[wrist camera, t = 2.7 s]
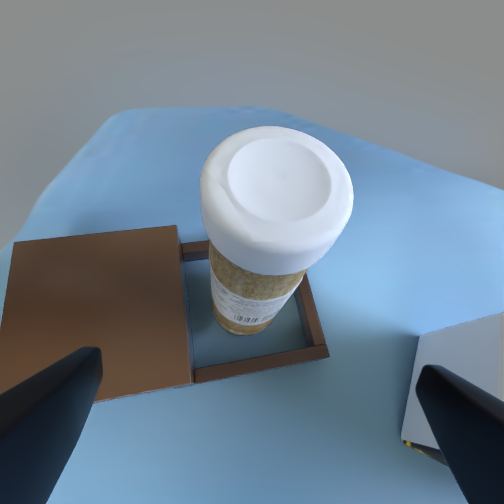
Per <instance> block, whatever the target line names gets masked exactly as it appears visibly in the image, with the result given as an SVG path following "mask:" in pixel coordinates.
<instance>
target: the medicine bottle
mask: <svg viewBox="0 0 504 504" xmlns="http://www.w3.org/2000/svg"><path fill="white" fill-rule="evenodd" d="M426 364H433V365H441V366H443V367H444V368H446V369H448V370H450V371H451V372H453V373H455V374H457V375H458V376H460V377H462V378H464V379H465V380H467V381H469V382H470V383H472V384H474V385H476V386H477V387H479V388H481V389H483V390H484V391H486V392H488V393H490V394H491V395H493V396H495V397H497V398H498V399H500V400H502V401H504V312H501V313H498V314H494V315H490V316H487V317H483V318H479V319H476V320H472V321H468V322H465V323H461V324H457V325H454V326H450V327H446V328H443V329H439V330H435V331H432V332H428V333H424V334H422V335H420V337H419V342H418V347H417V352H416V358H415V363H414V368H413V374H412V379H411V384H410V389H409V395H408V400H407V405H406V411H405V416H404V421H403V427H402V432H401V440H402V442H403V443H404V444H405V445H407V446H409V447H411V448H413V449H415V450H417V451H419V452H421V453H423V454H424V455H426V456H428V457H430V458H432V459H434V460H436V461H438V462H440V463H442V464H444V465H446V466H448V464H447V462H446V460H445V459H444V457H443V455H442V453H441V451H440V448H439V446H438V444H437V442H436V440H435V437H434V435H433V433H432V430H431V428H430V426H429V423H428V421H427V419H426V417H425V414H424V412H423V410H422V407H421V405H420V403H419V400H418V398H417V396H416V392H415V386H416V383H417V381H418V378H419V375H420V372H421V370H422V367H423V366H424V365H426ZM448 467H449V466H448Z"/></svg>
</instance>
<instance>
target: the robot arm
mask: <svg viewBox="0 0 504 504" xmlns="http://www.w3.org/2000/svg"><path fill="white" fill-rule="evenodd" d="M102 378H103V364H102V352H101V349H100V348H99V347H90V346H84V347H81V348H79V349H78V350H76V351H74V352H72V353H71V354H69V355H67V356H66V357H64V358H62V359H60V360H59V361H57V362H55V363H53V364H52V365H50V366H48V367H47V368H45V369H43V370H41V371H40V372H38V373H36V374H34V375H33V376H31V377H29V378H28V379H26V380H24V381H22V382H21V383H19V384H17V385H15V386H14V387H12V388H10V389H9V390H7V391H5V392H3V393H2V394H0V504H46V502H47V501H48V499H49V497H50V495H51V493H52V491H53V489H54V487H55V485H56V483H57V481H58V479H59V477H60V475H61V473H62V471H63V469H64V467H65V465H66V463H67V462H68V460H69V458H70V456H71V454H72V452H73V450H74V448H75V446H76V444H77V441H78V439H79V437H80V434H81V432H82V430H83V427H84V425H85V422H86V419H87V417H88V414H89V412H90V409H91V407H92V404H93V402H94V399H95V397H96V394H97V392H98V389H99V386H100V384H101V381H102ZM415 392H416V396H417V398H418V400H419V403H420V405H421V407H422V410H423V412H424V414H425V417H426V419H427V421H428V423H429V426H430V428H431V430H432V433H433V435H434V437H435V440H436V442H437V444H438V446H439V448H440V451H441V453H442V455H443V457H444V459H445V460H446V462H447V464H448V466H449V468H450V470H451V472H452V474H453V475H454V477H455V479H456V481H457V483H458V485H459V487H460V489H461V490H462V492H463V494H464V496H465V498H466V500H467V502H468V503H469V504H504V401H502V400H500V399H498V398H497V397H495V396H493V395H491V394H490V393H488V392H486V391H484V390H483V389H481V388H479V387H477V386H476V385H474V384H472V383H470V382H469V381H467V380H465V379H464V378H462V377H460V376H458V375H457V374H455V373H453V372H451V371H450V370H448V369H446V368H444V367H443V366H441V365H433V364H426V365H424V366H423V367H422V370H421V372H420V375H419V378H418V381H417V383H416V386H415Z"/></svg>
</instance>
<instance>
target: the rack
mask: <svg viewBox="0 0 504 504" xmlns="http://www.w3.org/2000/svg"><path fill="white" fill-rule="evenodd" d="M209 245H210V244H209V240H208V241H199V242H190V243H182V244H181V242H180V238H179V234H178V230H177V226H176V225H172V226H162V227H153V228H143V229H134V230H124V231H115V232H105V233H96V234H87V235H77V236H68V237H58V238H49V239H39V240H30V241H21V242H14V246H13V252H12V258H11V265H10V271H9V277H8V284H7V290H6V296H5V302H4V309H3V315H2V321H1V328H0V394H2V393H3V392H5V391H7V390H9V389H10V388H12V387H14V386H15V385H17V384H19V383H21V382H22V381H24V380H26V379H28V378H29V377H31V376H33V375H34V374H36V373H38V372H40V371H41V370H43V369H45V368H47V367H48V366H50V365H52V364H53V363H55V362H57V361H59V360H60V359H62V358H64V357H66V356H67V355H69V354H71V353H72V352H74V351H76V350H78V349H79V348H81V347H84V346H90V347H99V348H100V349H101V352H102V364H103V378H102V381H101V384H100V386H99V389H98V392H97V394H96V397H95V399H94V402H93V404H94V403H99V402H104V401H109V400H114V399H119V398H124V397H129V396H134V395H139V394H144V393H149V392H154V391H159V390H164V389H169V388H182V387H187V386H192V385H196V384H202V383H207V382H212V381H217V380H222V379H227V378H232V377H237V376H242V375H247V374H252V373H257V372H262V371H267V370H272V369H277V368H282V367H287V366H292V365H297V364H302V363H307V362H312V361H317V360H322V359H325V358H329V357H330V356H329V352H328V348H327V345H326V342H325V338H324V335H323V331H322V328H321V324H320V320H319V317H318V313H317V310H316V306H315V303H314V299H313V295H312V292H311V288H310V285H309V281H308V278H307V274H306V272H305V274H304V275H303V278H302V281H301V282H300V284H299V285H298V287H297V288H296V289H295V291H294V295H295V299H296V303H297V307H298V311H299V315H300V319H301V323H302V327H303V331H304V335H305V339H306V343H307V348H302V349H297V350H291V351H286V352H281V353H276V354H271V355H265V356H260V357H255V358H250V359H244V360H239V361H234V362H229V363H224V364H218V365H213V366H208V367H203V368H197V369H195V363H194V353H193V344H192V334H191V324H190V314H189V304H188V294H187V284H186V275H185V265H184V261H185V262H186V261H194V260H201V259H209Z"/></svg>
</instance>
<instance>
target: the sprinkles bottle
mask: <svg viewBox="0 0 504 504" xmlns="http://www.w3.org/2000/svg"><path fill="white" fill-rule="evenodd" d="M353 199H354V195H353V186H352V182H351V179H350V176H349V174H348V172H347V169H346V168H345V166H344V164H343V163H342V161H341V160H340V159H339V157H338V156H337V155H336V154H335V153H334V152H333V151H332V150H331V149H330V148H328V147H327V146H326V145H325V144H323V143H322V142H320V141H319V140H317V139H315V138H314V137H312V136H310V135H307V134H305V133H303V132H300V131H297V130H293V129H289V128H284V127H276V126H262V127H254V128H249V129H245V130H242V131H239V132H237V133H235V134H233V135H231V136H229V137H228V138H226V139H225V140H223V141H222V142H221V143H219V144H218V145H217V146H216V147H215V148H214V149H213V150H212V152H211V153H210V154H209V156H208V157H207V159H206V161H205V164H204V166H203V168H202V172H201V178H200V202H201V213H202V221H203V225H204V228H205V230H206V233H207V235H208V237H209V244H210V245H209V264H210V276H211V292H212V311H213V314H214V317H215V319H216V320H217V321H218V323H219V324H220V325H221V326H222V327H223V328H224V329H226V330H227V331H229V332H231V333H233V334H236V335H253V334H256V333H258V332H260V331H262V330H264V329H265V328H266V327H267V326H268V325H269V324H270V323H271V322H272V320H273V318H274V316H275V315H276V314H277V313H278V312H279V310H280V309H281V308H282V307H283V305H284V304H285V303H286V301H287V300H288V299H289V297H290V296H291V295H292V293H293V292H294V291H295V289H296V288H297V287H298V285H299V284H300V282H301V281H302V278H303V275H304V274H305V272H306V271H307V269H308V268H309V267H310V266H312V265H313V264H315V263H316V262H317V261H318V260H320V259H321V258H322V257H323V256H324V255H325V254H326V252H327V251H328V250H329V249H330V247H331V246H332V245H333V243H334V242H335V241H336V239H337V238H338V236H339V235H340V234H341V232H342V231H343V229H344V227H345V226H346V224H347V222H348V220H349V218H350V215H351V212H352V208H353Z"/></svg>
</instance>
